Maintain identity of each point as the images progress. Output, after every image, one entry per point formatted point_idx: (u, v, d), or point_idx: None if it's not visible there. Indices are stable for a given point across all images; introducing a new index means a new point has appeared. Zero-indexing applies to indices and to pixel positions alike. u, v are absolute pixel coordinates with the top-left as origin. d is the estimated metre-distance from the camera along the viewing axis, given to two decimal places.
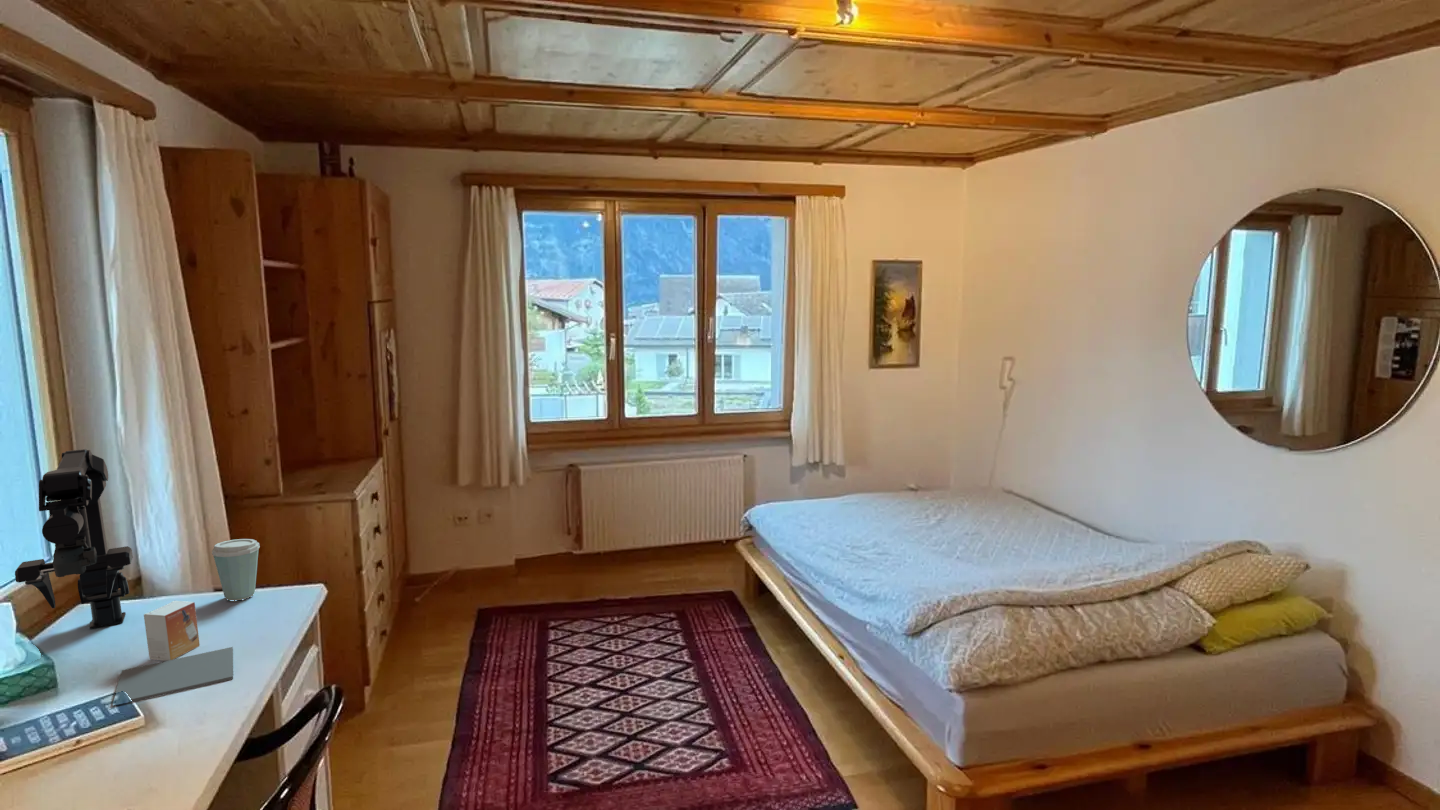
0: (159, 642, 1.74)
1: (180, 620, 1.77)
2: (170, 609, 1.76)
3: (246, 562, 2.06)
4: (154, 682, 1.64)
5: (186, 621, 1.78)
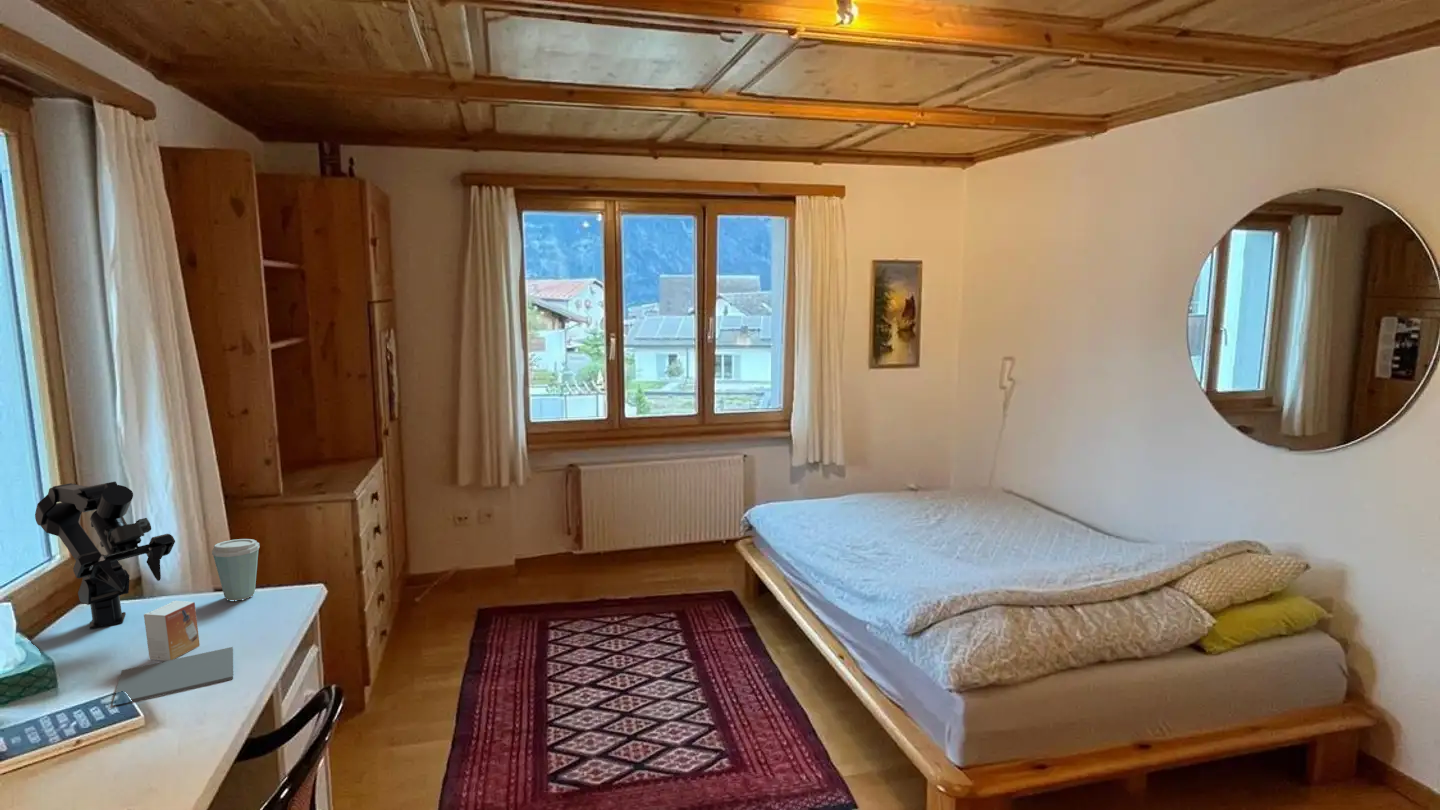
0: (159, 642, 1.74)
1: (180, 620, 1.77)
2: (170, 609, 1.76)
3: (246, 562, 2.06)
4: (154, 682, 1.64)
5: (186, 621, 1.78)
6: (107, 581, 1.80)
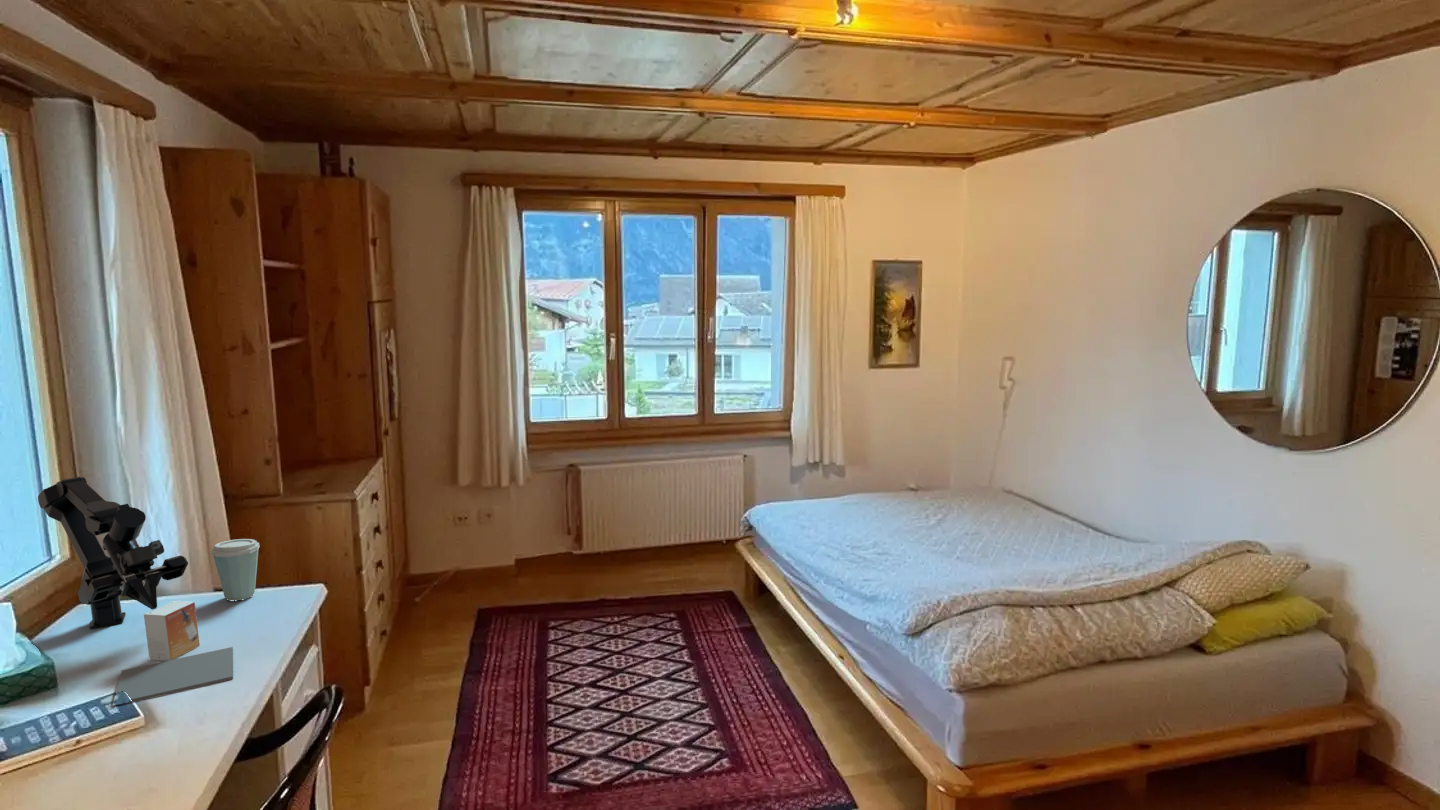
0: (159, 642, 1.74)
1: (180, 620, 1.77)
2: (170, 609, 1.76)
3: (246, 562, 2.06)
4: (154, 682, 1.64)
5: (186, 621, 1.78)
6: (138, 599, 1.81)
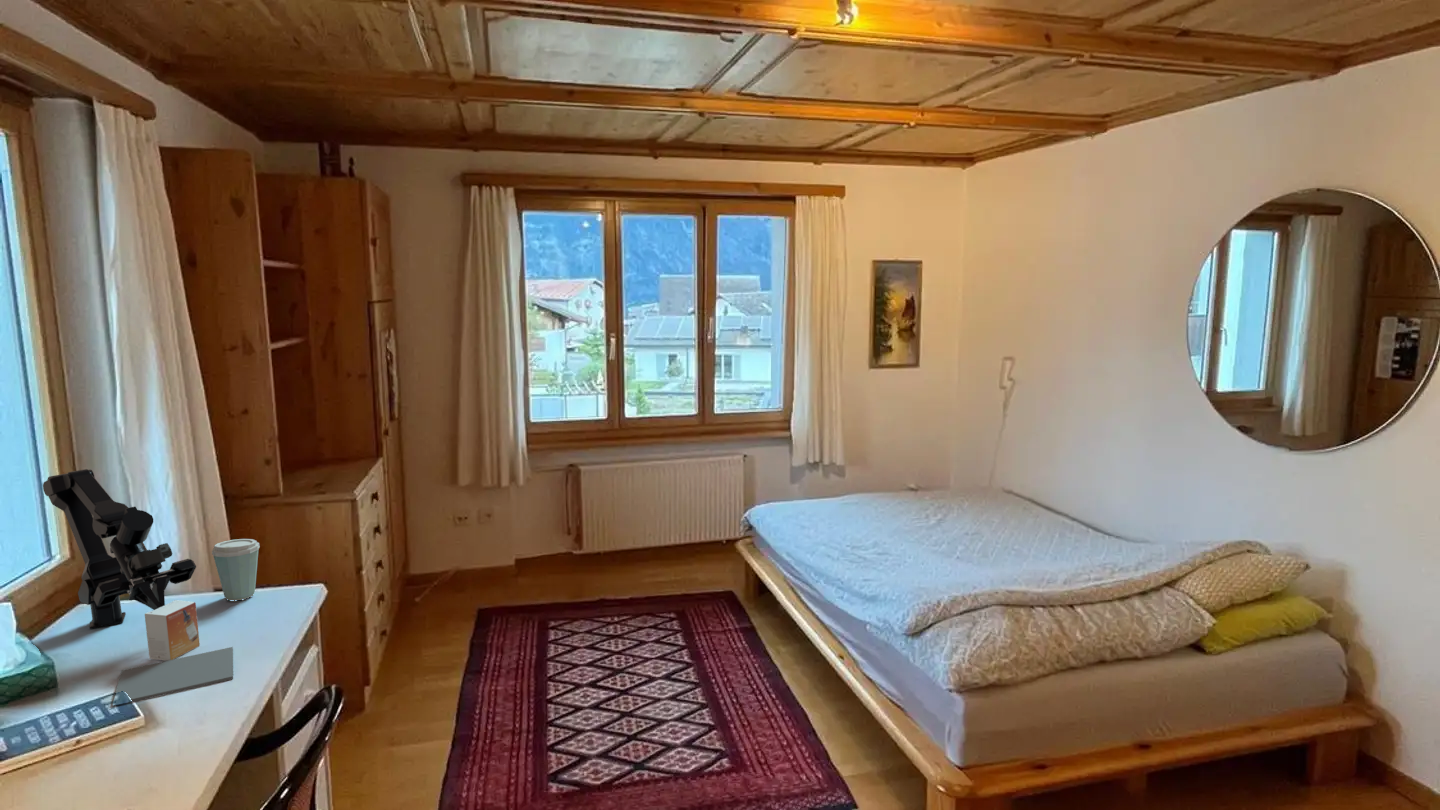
0: (159, 642, 1.74)
1: (181, 620, 1.77)
2: (171, 609, 1.76)
3: (246, 562, 2.06)
4: (154, 682, 1.64)
5: (186, 621, 1.78)
6: (146, 603, 1.79)
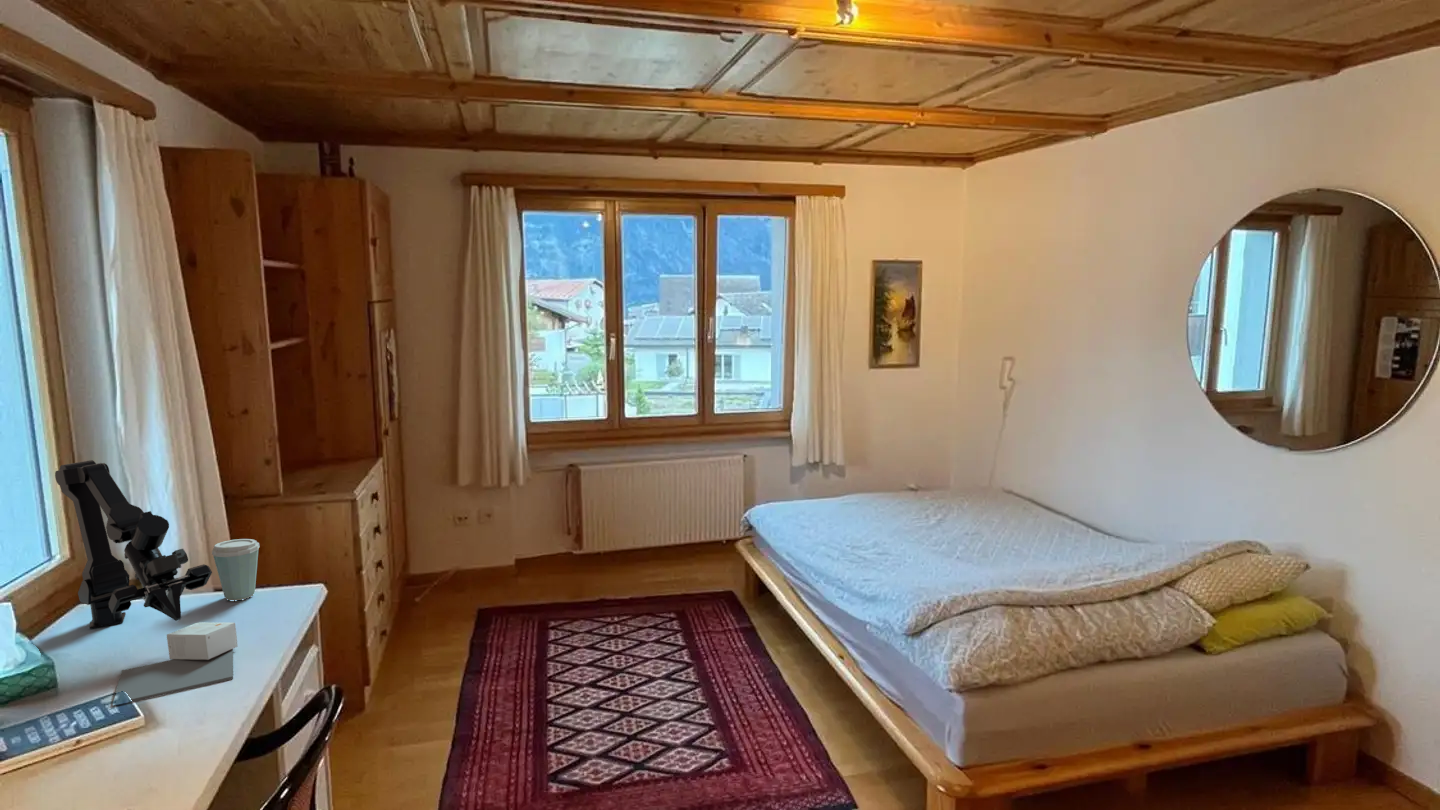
0: (183, 650, 1.73)
1: None
2: (218, 648, 1.75)
3: (246, 562, 2.06)
4: (154, 682, 1.64)
5: None
6: (162, 610, 1.76)
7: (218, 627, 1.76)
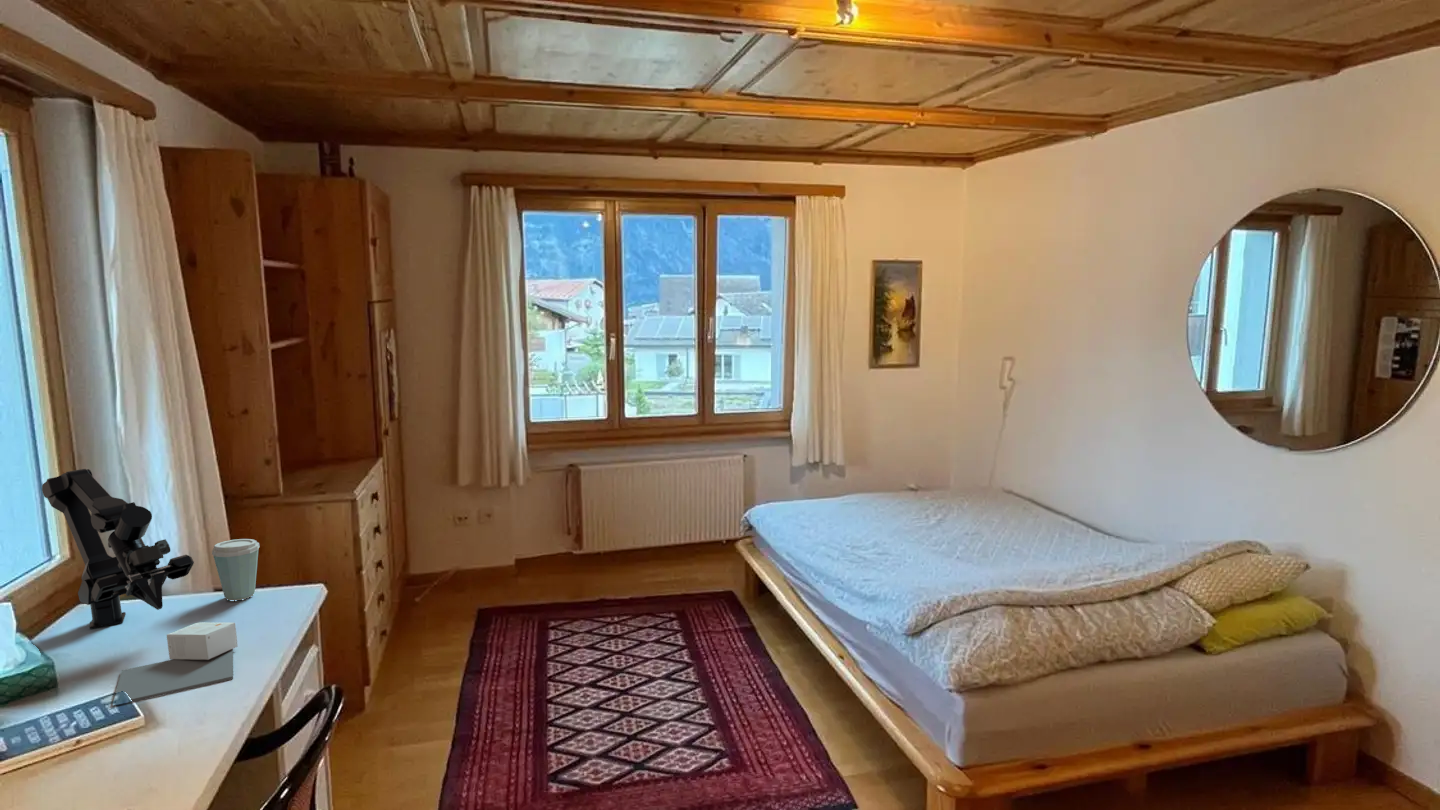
0: (183, 650, 1.73)
1: None
2: (218, 648, 1.75)
3: (246, 562, 2.06)
4: (154, 682, 1.64)
5: None
6: (144, 599, 1.80)
7: (218, 627, 1.76)
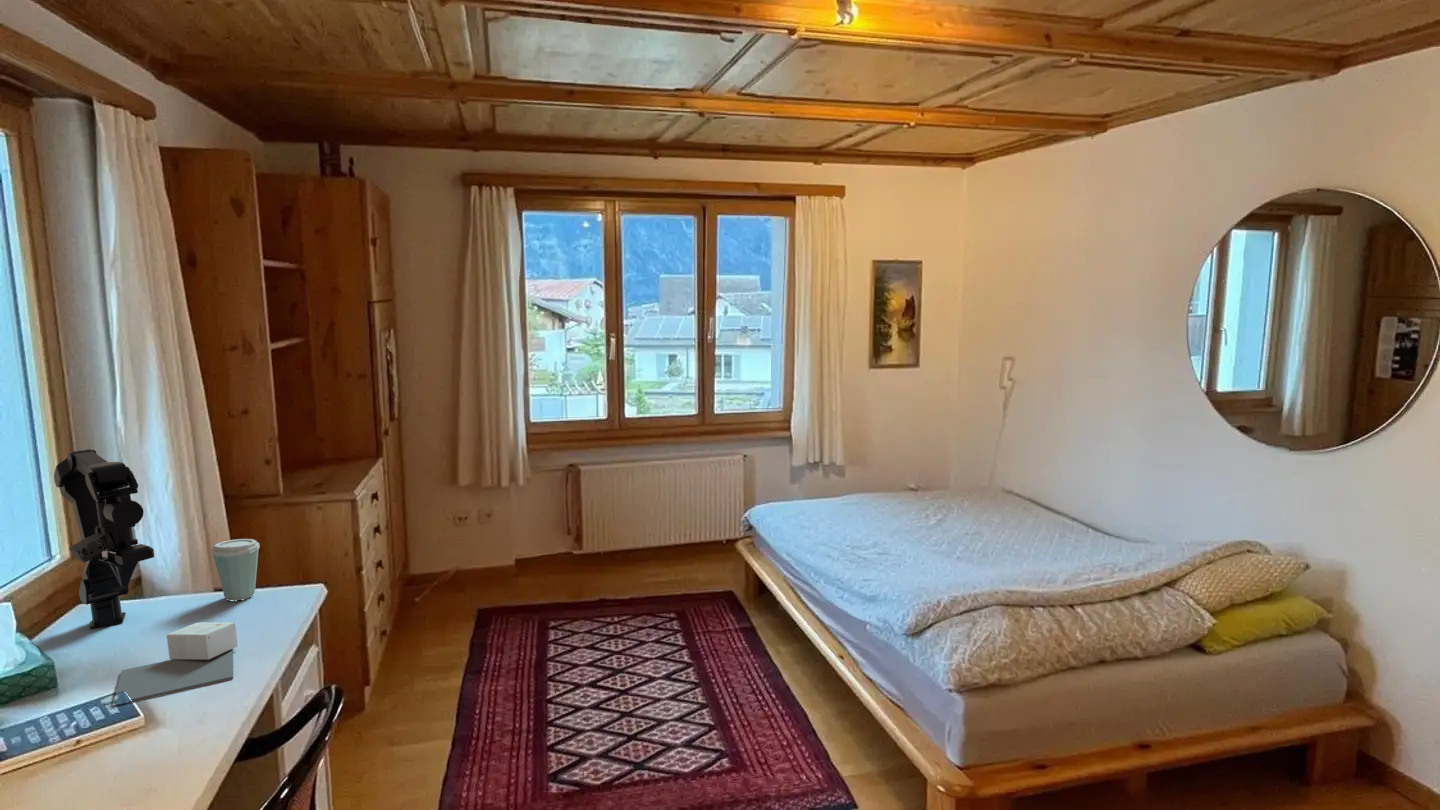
0: (183, 650, 1.73)
1: None
2: (218, 648, 1.75)
3: (246, 562, 2.06)
4: (154, 682, 1.64)
5: None
6: None
7: (218, 627, 1.76)
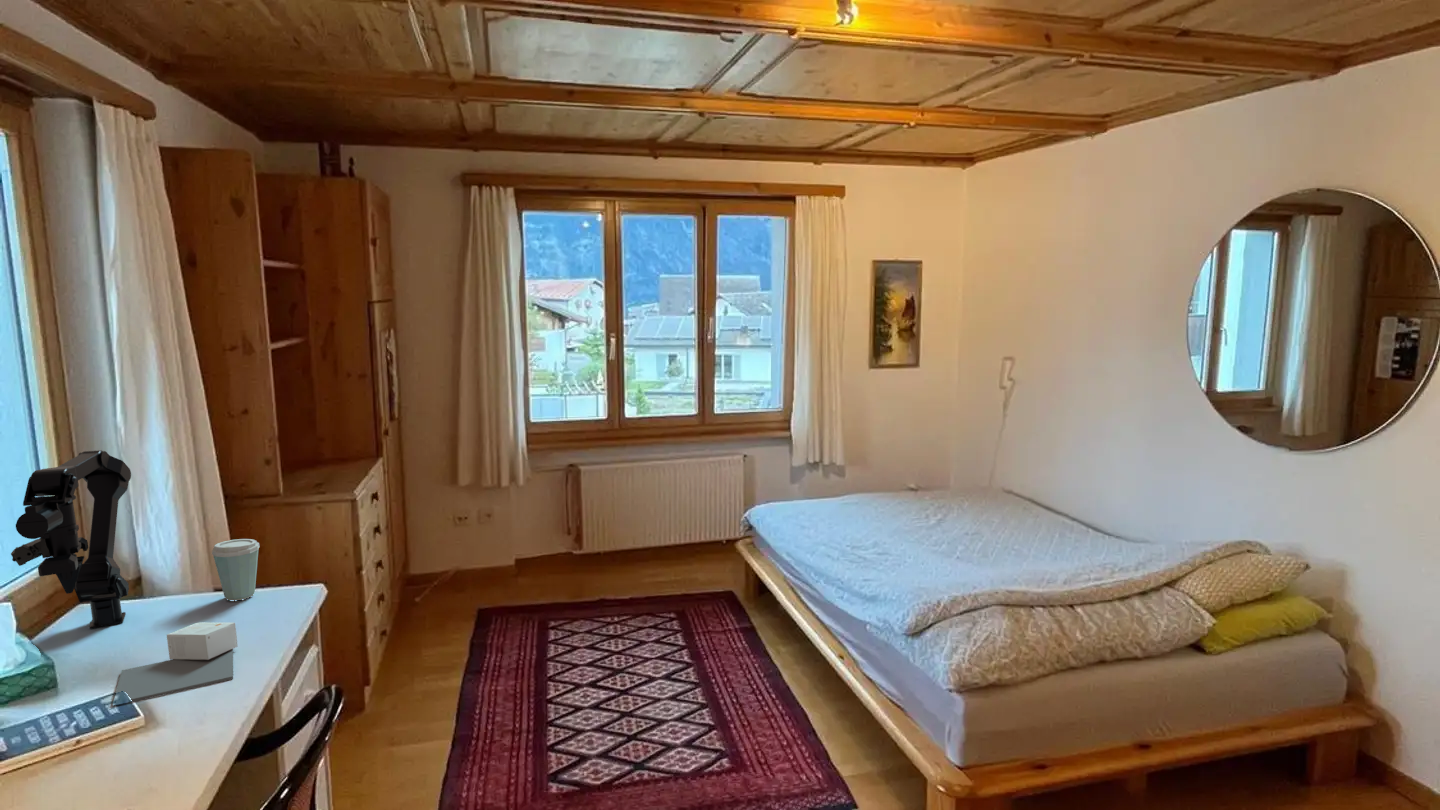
0: (183, 650, 1.73)
1: None
2: (218, 648, 1.75)
3: (246, 562, 2.06)
4: (154, 682, 1.64)
5: None
6: None
7: (218, 627, 1.76)
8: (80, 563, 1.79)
